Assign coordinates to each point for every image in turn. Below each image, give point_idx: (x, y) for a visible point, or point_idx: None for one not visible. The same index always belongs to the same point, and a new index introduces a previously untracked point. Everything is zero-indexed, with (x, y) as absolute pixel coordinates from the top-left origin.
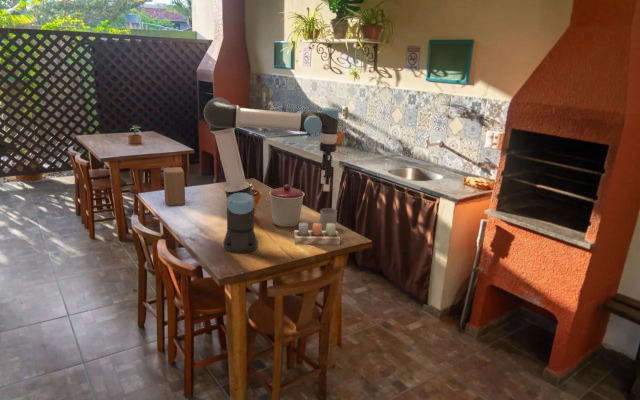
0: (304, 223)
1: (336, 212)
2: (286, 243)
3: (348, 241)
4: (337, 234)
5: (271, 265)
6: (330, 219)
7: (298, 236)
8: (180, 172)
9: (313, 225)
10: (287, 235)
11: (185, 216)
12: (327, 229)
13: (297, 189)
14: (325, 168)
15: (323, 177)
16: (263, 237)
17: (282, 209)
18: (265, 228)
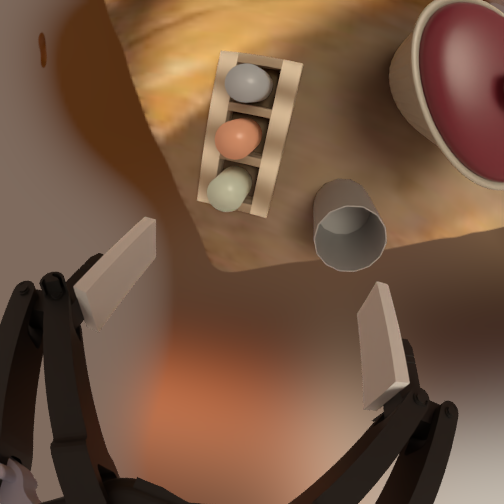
0: (252, 88)
1: (323, 261)
2: (237, 29)
3: (225, 226)
4: None
5: (107, 2)
6: (314, 222)
7: (232, 63)
8: None
9: (228, 121)
10: (313, 47)
11: None
12: (221, 173)
13: None
14: (44, 370)
15: (374, 335)
16: None
17: (408, 37)
18: (394, 6)
